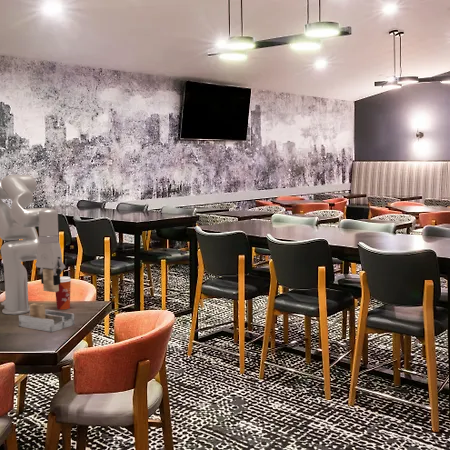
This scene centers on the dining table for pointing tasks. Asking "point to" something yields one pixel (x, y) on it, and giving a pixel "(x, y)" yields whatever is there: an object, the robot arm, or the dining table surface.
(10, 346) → the dining table surface
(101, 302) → the dining table surface
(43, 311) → the oak board
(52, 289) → the beech board
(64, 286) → the paper cup
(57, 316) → the rack
